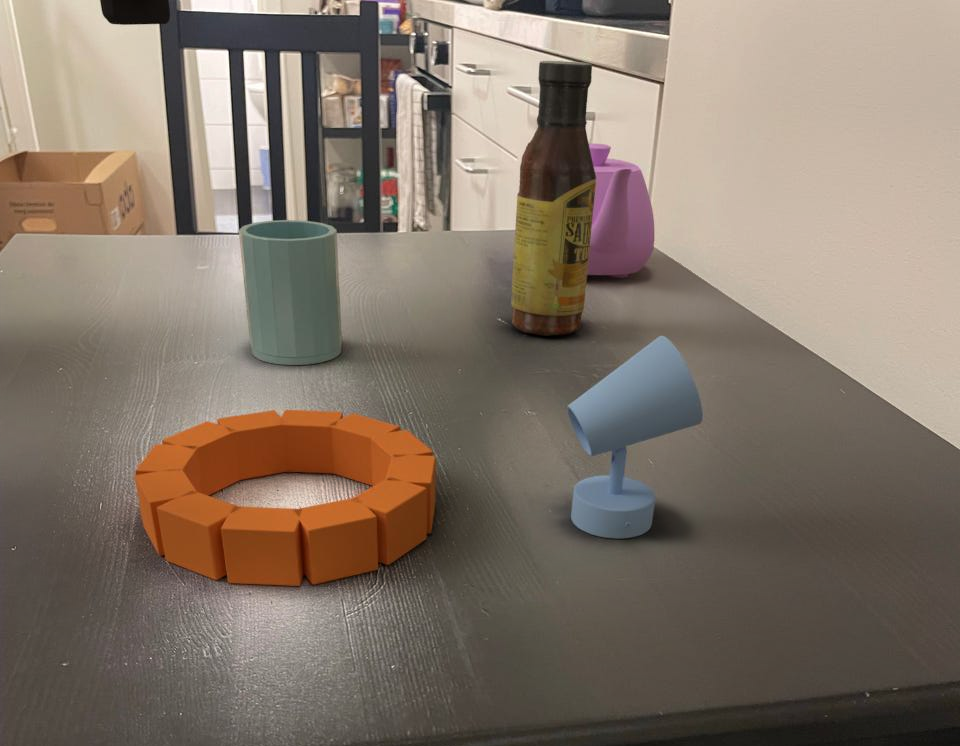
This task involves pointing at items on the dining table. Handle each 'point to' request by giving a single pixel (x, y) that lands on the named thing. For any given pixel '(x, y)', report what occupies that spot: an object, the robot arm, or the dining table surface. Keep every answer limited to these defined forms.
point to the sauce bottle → (555, 207)
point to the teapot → (619, 217)
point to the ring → (282, 531)
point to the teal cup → (292, 291)
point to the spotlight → (629, 435)
